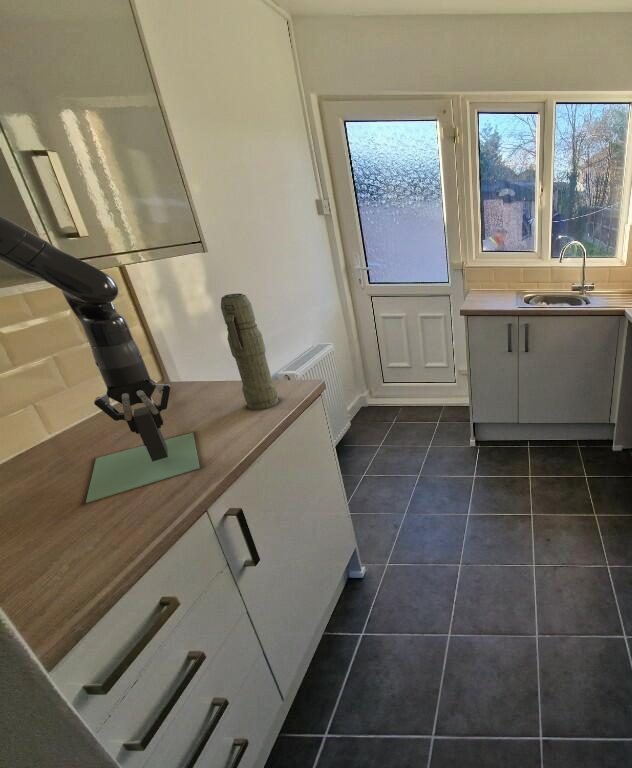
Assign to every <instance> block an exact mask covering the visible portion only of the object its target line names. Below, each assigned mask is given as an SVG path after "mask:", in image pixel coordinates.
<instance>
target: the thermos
mask: <svg viewBox="0 0 632 768" xmlns="http://www.w3.org/2000/svg"><path fill="white" fill-rule="evenodd" d="M220 310H221V313H222V314H221V315H222V317H223V320H224V323H225V325H226V331H227V342H228V347H229V349H230V352H231V355H232V357H233V359H234V360H235V362H236V366H237V371H238V373H239V376H240V379H241V383H242V394H243V397H244V400H245V403H246V404H247V408H248V410H251V411H261V410H266V409H269V408H272V407H274V406H276V405H277V404H278V403H279V402H280V400H279V398H278V390H277V387H276V383H275V381H274V380H273V379H272V375H271V373H270V368H269V364H268V361H267V356H266V346H265V343H264V339H263V335H262V332H261V330H260V329H259V327H258V324H257V323H256V317H255V313H254V308H253V305H252V303H251V301H250V299H249V298H248V296H247V295H246V294H243V293H229V294H225V295H223V296H222V297H221V298H220Z"/></svg>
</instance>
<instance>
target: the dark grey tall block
mask: <svg viewBox="0 0 632 768" xmlns="http://www.w3.org/2000/svg"><path fill="white" fill-rule="evenodd" d="M133 418H134V420H135V422H136V423H135V424H136V427H137V429H138V431H139V436H140V438H141V440H142V443H143V444H144V445H145V446H146V448H147V450H148V453H149V455H150V457H151V460H152V462H153V461H156V460H160V459H163V458H167V457H168V448H167V446H166V443H165V441H164V440H165V438H164V435H163V433H162V431H161V428H158V429H157V426H156V424H155V421H154V419H153V417H152V412H151V411H150V410H149V408H148V407H146V406H142V407H138V408H134V409H133ZM144 445H143V446H144Z"/></svg>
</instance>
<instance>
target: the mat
mask: <svg viewBox="0 0 632 768" xmlns="http://www.w3.org/2000/svg"><path fill="white" fill-rule="evenodd" d="M164 441H165V443H166V446H167V448H168V457H167V458H163V459H160V460H156V461H153V462H152V460H151V457H150V455H149V453H148V450H147V448H146V446H145V445H140V446H137V447H133V448H129V449H126V450H125V449H124V450H122V451H118V452H114V453H110V454H106V455H103V456H98V457H96V458H95V461H94V465H93V470H92V474H91V478H90V482H89V486H88V491H87V496H86V499H85V504H89V503H92V502H96V501H99V500H102V499H105V498H109V497H111V496H116V495H118V494H121V493H124V492H128V491H132V490H134V489H137V488H140V487H144V486H148V485H151V484H154V483H157V482H161V481H164V480H168V479H170V478H173V477H177V476H180V475H183V474H187V473H189V472H193V471H196V470H199V469H201V467H200V461H199V456H198V451H197V445H196V440H195V434H194V432H189V433H186V434H182V435H178V436H175V437H170V438H166V439H164Z"/></svg>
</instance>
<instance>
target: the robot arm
mask: <svg viewBox="0 0 632 768" xmlns="http://www.w3.org/2000/svg"><path fill="white" fill-rule="evenodd" d="M0 262H2V263H4V264H5V265H7V266H9V267H11V268H13V269H16V270H17V271H19V272H21V273H24V274H26V275H28V276H31V277H33V278H37V279H40V280H43V281H44V282H46V283H48V284H50V285H52V286H54V287H56V288H58V289H59V290H60V291H61V293H62V295H63V297H64V300H65V301H66V303H67V304H68V306H69V307H70V309H71V310H72V312H73V314H74V315H75V317H76V318H77V319H78V321H79V323H80V324H81V326H82V330H83V332H84V335H85V337H86V339H87V342H88V344H89V346H90V349H91V352H92V357H93V360H94V362H95V365H96V367H97V368H98V370H99V372H100V375H101V377H102V379H103V382H104V384H105V386H106V393H105V394H103V395H101V396H97V397H95V399H94V400H93V401H94V402H93V403H94V405H95V406H96V407H97V408H98V409H100V410H101V411H102V412H103V413H104V414H106V415H107V416H108V417H109V418H111V419H112V420H113V421H114V422H115V421H116V422H118V421H125V422H126V424H127V426H128V428H129V430H130V432H131V433H135V434H136V435H138V434H139V431H138V429H137V427H136V424H135V423H136V422H135V420H134V418H133V416H134V414H133V409H132V406H135V405H137V404H143V405H145V407H148V408H149V410H150V411H151V412H152V417H153V419H154V421H155V424H156V426H157V429H158V428H160V429H161V428H162V426H164V419H163V416H162V414H161V412H162V411H164V410H167V409H168V404H169V400H170V399H169V398H170V392H171V384H170V383H169V382H165V383H156V382H155V381H154V380H153V379H152V378H151V376H150V373H149V371H148V369H147V365H146V363H145V361H144V358H143V356H142V353H141V351H140V348H139V347H138V344H137V343H136V341H135V339H134V336H133V333H132V331H131V329H130V327H129V324H128V322H127V320H126V318H125V317H124V316H123V315H121V314H120V312H118V310H117V309H116V307H115V305H114V303H113V301H115V300H116V299H117V297H118V296H119V286H118V284H117V282H116V281H115V279H114V278H112V277H111V276H110V275H109V274H108V273H106V272H104V271H103V270H101V269H99V268H97V267H95V266H93V265H91V264H89V263H87V262H86V261H84V260H81V259H79V258H78V257H75V256H73V255H71V254H69V253H66V252H65V251H63V250H61V249H59V248H57V247H56V246H54V244H51V243H50V242H49V241H46V239H44V238H42V237H40V236H38V235H36V234H35V233H33V232H32V231H30V230H28V229H26V228H25V227H22V226H21V225H19V224H18V223H16V222H14V221H12V220H10V219H8V218H7V217H4V216H3V215H0ZM155 390H158V393H159V394H161V397H160V403H159V404H156V402H155V401H154V399H153V398H152V395H153V393H154V392H155ZM111 399H112V400H114V401H116V402H117V403H119V404H122V411H123V412H121V411H119V410H118V409H116V408H115V407H114V406H113V405H111ZM139 435H140V434H139Z"/></svg>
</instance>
